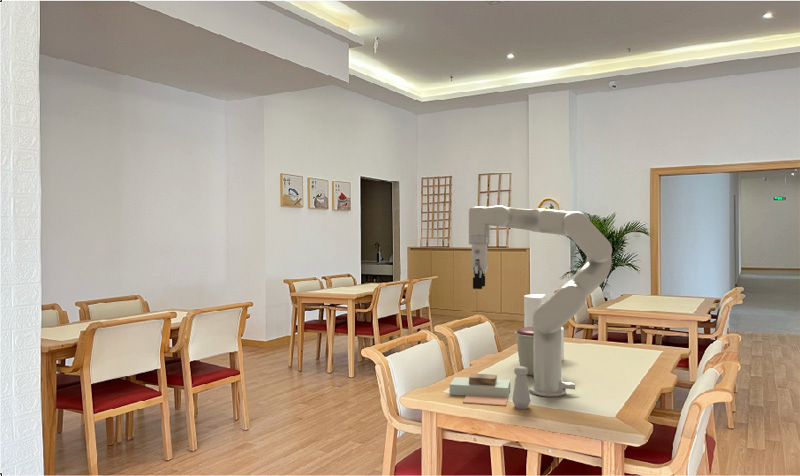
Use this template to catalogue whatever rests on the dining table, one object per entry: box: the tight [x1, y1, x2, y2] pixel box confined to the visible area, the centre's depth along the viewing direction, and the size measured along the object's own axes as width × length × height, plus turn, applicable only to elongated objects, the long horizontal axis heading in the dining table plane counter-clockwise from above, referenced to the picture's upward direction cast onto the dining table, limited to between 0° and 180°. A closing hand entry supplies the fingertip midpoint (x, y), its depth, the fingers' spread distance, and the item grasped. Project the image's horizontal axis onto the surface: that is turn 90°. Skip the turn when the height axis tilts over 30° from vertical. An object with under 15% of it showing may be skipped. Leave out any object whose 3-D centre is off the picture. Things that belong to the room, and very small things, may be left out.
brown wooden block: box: [468, 373, 498, 386], centre depth 202 cm, size 9×6×2 cm, turn 75°
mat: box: [462, 395, 509, 407], centre depth 192 cm, size 14×9×1 cm, turn 75°
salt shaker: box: [512, 365, 532, 410], centre depth 184 cm, size 6×6×13 cm
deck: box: [449, 376, 511, 399], centre depth 202 cm, size 20×11×4 cm, turn 75°
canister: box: [514, 324, 534, 377], centre depth 229 cm, size 18×18×21 cm
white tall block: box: [523, 293, 565, 362], centre depth 257 cm, size 17×17×28 cm
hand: (479, 287), depth 208 cm, fingers open, 9 cm apart
